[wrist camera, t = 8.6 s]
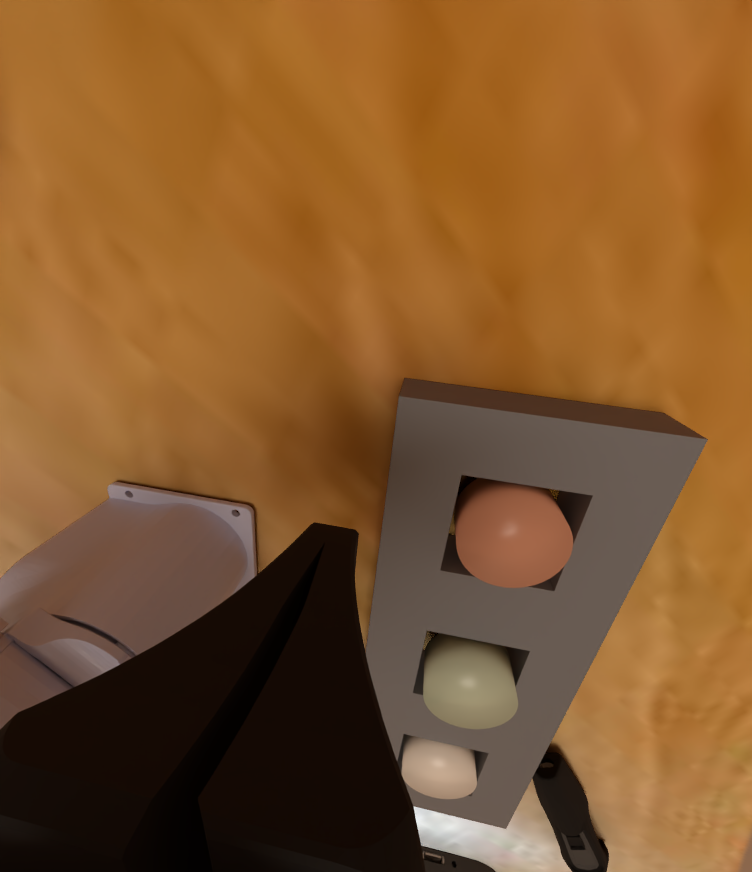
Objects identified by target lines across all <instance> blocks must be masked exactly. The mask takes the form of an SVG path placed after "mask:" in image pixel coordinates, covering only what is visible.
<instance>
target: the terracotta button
mask: <svg viewBox="0 0 752 872" xmlns="http://www.w3.org/2000/svg"><path fill="white" fill-rule="evenodd" d="M454 521H455V534H456V547H457V553H458V556H459V559H460V560H461V562H462V564H463V565H464V567H465V568H466V569H467V570H468V571H469V572H470V573H471V574H472V575H474V576H475V577H476V578H478V579H480V580H482V581H484V582H486V583H488V584H491V585H495V586H499V587H506V588H522V587H528V586H532V585H536V584H539V583H542V582H544V581H546V580H548V579H550V578H551V577H553V576H554V575H556V574H557V573H558V572H559V571H560V570H561V569H562V568H563V567H564V566H565V564H566V563H567V562H568V560H569V558H570V556H571V553H572V549H573V536H572V532H571V529H570V527H569V525H568V523H567V521H566V519H565V517H564V515H563V514H562V512H561V510H560V508H559V506H558V504H557V502H556V500H555V499H554V497H553V495H552V493H551V492H550V490H549V489H548V488H542V487H535V486H529V485H523V484H516V483H510V482H504V481H497V480H491V479H485V478H478V479H476V480H474V481H473V482H471V483H470V484H469V485H468V486H466V487H465V489H464V490H463V491H462V492H461V494H460V495H459V497H458V499H457V501H456V504H455V509H454Z"/></svg>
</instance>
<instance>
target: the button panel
mask: <svg viewBox="0 0 752 872" xmlns="http://www.w3.org/2000/svg"><path fill="white" fill-rule="evenodd" d="M707 440H708V439H706V438H705V437H703V436H701V435H700V434H698V433H696V432H695V431H693V430H691V429H690V428H688V427H686V426H685V425H683V424H681V423H680V422H678V421H676V420H675V419H673V418H671V417H670V416H668V415H666V414H665V413H660V412H652V411H645V410H637V409H630V408H623V407H615V406H608V405H600V404H593V403H586V402H578V401H571V400H563V399H556V398H549V397H541V396H534V395H526V394H519V393H512V392H504V391H497V390H490V389H482V388H475V387H467V386H460V385H453V384H445V383H438V382H430V381H423V380H416V379H408V378H404V382H403V385H402V388H401V391H400V395H399V400H398V408H397V416H396V423H395V431H394V439H393V447H392V454H391V462H390V470H389V477H388V485H387V493H386V500H385V508H384V516H383V523H382V531H381V539H380V547H379V554H378V562H377V570H376V577H375V585H374V593H373V600H372V608H371V616H370V624H369V631H368V639H367V647H366V658H367V662H368V666H369V670H370V675H371V679H372V682H373V686H374V689H375V693H376V696H377V700H378V703H379V707H380V710H381V714H382V717H383V721H384V724H385V727H386V730H387V733H388V736H389V739H390V742H391V745H392V748H393V751H394V754H395V757H396V760H397V763H398V765H399V768H400V771H401V774H402V759H403V744H404V734H406V735H410V736H415V737H419V738H424V739H428V740H432V741H437V742H441V743H446V744H450V745H454V746H459V747H463V748H468V749H472V750H474V753H475V766H476V778H477V786H476V789H475V790H474V791H473V792H472V793H471V794H469V795H468V796H465V797H462V798H458V799H440V798H434V797H430V796H427V795H424V794H422V793H419V792H417V791H416V790H414V789H413V788H411V787H410V786H409V785H408V784H407V783H406V782H405V781H404V782H405V785H406V787H407V790H408V793H409V795H410V798H411V801H412V804H413V806H415V807H419V808H423V809H427V810H432V811H436V812H440V813H444V814H448V815H452V816H456V817H460V818H464V819H468V820H472V821H476V822H480V823H484V824H488V825H493V826H497V827H501V828H505V829H506V828H507V826H508V824H509V822H510V820H511V818H512V816H513V814H514V812H515V810H516V808H517V806H518V804H519V803H520V801H521V799H522V797H523V795H524V793H525V791H526V789H527V787H528V785H529V783H530V781H531V779H532V777H533V776H534V774H535V772H536V770H537V768H538V766H539V764H540V762H541V760H542V758H543V756H544V754H545V752H546V750H547V749H548V747H549V745H550V743H551V741H552V739H553V737H554V735H555V733H556V731H557V729H558V727H559V725H560V723H561V722H562V720H563V718H564V716H565V714H566V712H567V710H568V708H569V706H570V704H571V702H572V700H573V698H574V696H575V695H576V693H577V691H578V689H579V687H580V685H581V683H582V681H583V679H584V677H585V675H586V673H587V671H588V670H589V668H590V666H591V664H592V662H593V660H594V658H595V656H596V654H597V652H598V650H599V648H600V646H601V644H602V643H603V641H604V639H605V637H606V635H607V633H608V631H609V629H610V627H611V625H612V623H613V621H614V619H615V617H616V616H617V614H618V612H619V610H620V608H621V606H622V604H623V602H624V600H625V598H626V596H627V594H628V592H629V590H630V589H631V587H632V585H633V583H634V581H635V579H636V577H637V575H638V573H639V571H640V569H641V567H642V565H643V563H644V562H645V560H646V558H647V556H648V554H649V552H650V550H651V548H652V546H653V544H654V542H655V540H656V538H657V536H658V535H659V533H660V531H661V529H662V527H663V525H664V523H665V521H666V519H667V517H668V515H669V513H670V511H671V509H672V508H673V506H674V504H675V502H676V500H677V498H678V496H679V494H680V492H681V490H682V488H683V486H684V484H685V482H686V481H687V479H688V477H689V475H690V473H691V471H692V469H693V467H694V465H695V463H696V461H697V459H698V457H699V456H700V454H701V452H702V450H703V448H704V446H705V444H706V442H707ZM461 475H466V476H472V477H478V478H485V479H491V480H497V481H504V482H510V483H516V484H523V485H529V486H535V487H542V488H548V489H554V490H560V492H559V495H558V498H557V501H556V502H557V504H558V506H559V508H560V510H561V512H562V514H563V515H564V517H565V519H566V521H567V523H568V525H569V527H570V529H571V532H572V536H573V549H572V553H571V556H570V558H569V560H568V562H567V563H566V564H565V566H564V567H563V568H562V569H561V570H560V571H559V572H558V573H557V574H556V575H554V576H553V577H551V578H550V579H548V580H546V581H544V582H542V583H539V584H536V585H532V586H528V587H522V588H506V587H499V586H495V585H491V584H488V583H486V582H484V581H482V580H480V579H478V578H476V577H475V576H474V575H472V574H471V573H470V572H469V571H468V570H467V569H466V568H465V567H464V565H463V564H462V562H461V560H460V559H459V556H458V553H457V547H456V536H455V535H449V534H448V533H449V529H450V524H451V520H452V516H453V511H454V507H455V502H456V498H457V493H458V489H459V484H460V480H461ZM427 631H432V632H437V633H442V634H447V635H452V636H457V637H462V638H467V639H472V640H477V641H482V642H487V643H492V644H497V645H502V646H505V648H506V649H507V651H508V653H509V657H510V662H511V667H512V672H513V677H514V682H515V687H516V693H517V698H518V708H517V711H516V713H515V715H514V716H513V717H512V718H511V719H510V720H509V721H507V722H506V723H504V724H502V725H499V726H496V727H493V728H487V729H467V728H461V727H457V726H454V725H451V724H449V723H446V722H444V721H442V720H441V719H439V718H438V717H436V716H435V715H434V714H433V713H432V712H431V711H430V710H429V709H428V708H427V706H426V704H425V702H424V698H423V685H424V653H425V650H422V649H423V645H424V640H425V636H426V632H427Z"/></svg>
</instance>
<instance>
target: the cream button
mask: <svg viewBox="0 0 752 872" xmlns="http://www.w3.org/2000/svg"><path fill="white" fill-rule="evenodd" d="M402 777H403V779H404V781H405V782H406V783H407V784H408V785H409V786H410V787H411V788H413V789H414V790H416V791H417V792H419V793H422V794H424V795H427V796H430V797H434V798H440V799H458V798H462V797H465V796H468V795H469V794H471V793H472V792H473V791H474V790H475V789H476V786H477V778H476V766H475V753H474V750H472V749H468V748H463V747H459V746H454V745H450V744H446V743H441V742H437V741H432V740H428V739H424V738H419V737H415V736H410V735H406V734H404V744H403V759H402Z"/></svg>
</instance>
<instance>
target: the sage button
mask: <svg viewBox="0 0 752 872" xmlns="http://www.w3.org/2000/svg"><path fill="white" fill-rule="evenodd" d="M423 698H424V702H425V704H426V706H427V708H428V709H429V710H430V711H431V712H432V713H433V714H434V715H435V716H436V717H438V718H439V719H441V720H442V721H444V722H446V723H449V724H451V725H454V726H457V727H461V728H467V729H487V728H493V727H496V726H499V725H502V724H504V723H506V722H507V721H509V720H510V719H511V718H512V717H513V716H514V715H515V713H516V711H517V708H518V698H517V693H516V687H515V682H514V677H513V672H512V667H511V662H510V657H509V653H508V651H507V649H506V648H505V646H502V645H497V644H492V643H487V642H482V641H477V640H472V639H467V638H462V637H457V636H452V635H447V634H442V633H440V634H438V635H437V636H435V637H434V638H432V639H431V640H430V641H429V643H428V644H427V646H426V648H425V653H424V685H423Z"/></svg>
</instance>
